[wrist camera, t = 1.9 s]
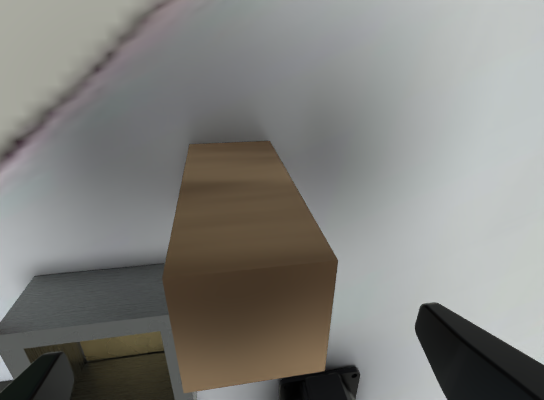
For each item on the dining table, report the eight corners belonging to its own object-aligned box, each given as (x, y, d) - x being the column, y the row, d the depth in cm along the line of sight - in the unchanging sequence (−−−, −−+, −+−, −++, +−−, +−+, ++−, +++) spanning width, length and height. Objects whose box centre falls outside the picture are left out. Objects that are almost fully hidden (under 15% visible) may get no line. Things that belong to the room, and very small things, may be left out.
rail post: (269, 209, 18) (324, 370, 9) (197, 215, 18) (183, 393, 9) (269, 140, 16) (338, 260, 8) (189, 144, 16) (162, 278, 7)
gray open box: (198, 354, 22) (196, 413, 19) (74, 372, 21) (46, 438, 18) (184, 261, 19) (178, 313, 15) (34, 276, 18) (-11, 336, 14)
